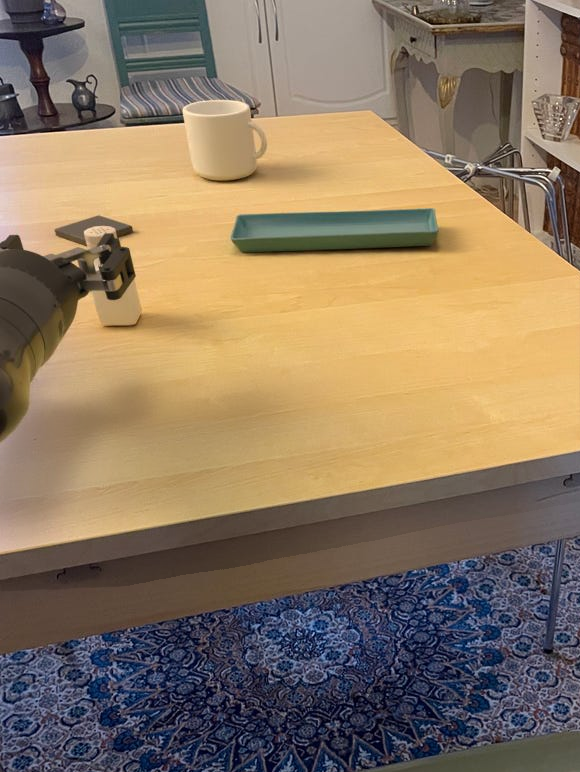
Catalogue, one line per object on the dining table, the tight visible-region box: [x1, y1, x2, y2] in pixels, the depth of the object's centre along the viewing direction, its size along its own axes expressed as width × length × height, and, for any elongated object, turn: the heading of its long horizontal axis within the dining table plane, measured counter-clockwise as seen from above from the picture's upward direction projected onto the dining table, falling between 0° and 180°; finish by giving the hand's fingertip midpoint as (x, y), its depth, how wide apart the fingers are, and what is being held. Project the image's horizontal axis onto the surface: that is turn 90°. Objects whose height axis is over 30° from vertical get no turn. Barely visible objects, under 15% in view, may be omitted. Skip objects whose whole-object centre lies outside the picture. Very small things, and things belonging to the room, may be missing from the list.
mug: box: [182, 99, 268, 182], centre depth 140 cm, size 12×10×9 cm
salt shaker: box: [84, 226, 143, 327], centre depth 100 cm, size 4×4×10 cm
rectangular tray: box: [230, 207, 439, 253], centre depth 122 cm, size 26×9×2 cm, turn 95°
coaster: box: [54, 214, 134, 247], centre depth 123 cm, size 7×7×1 cm
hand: (65, 244), depth 87 cm, fingers open, 8 cm apart
